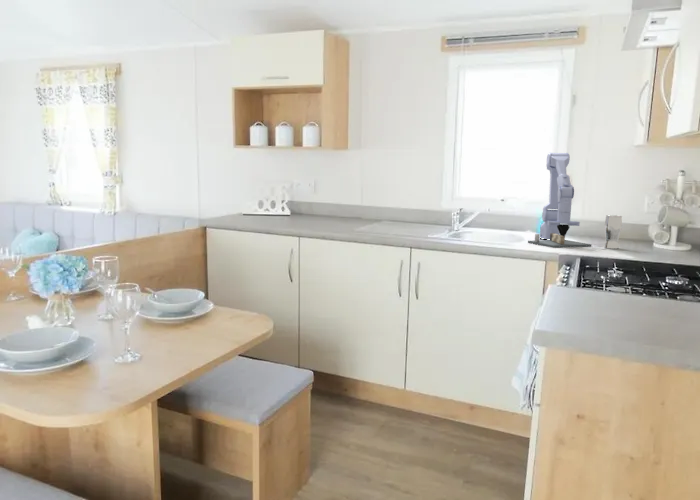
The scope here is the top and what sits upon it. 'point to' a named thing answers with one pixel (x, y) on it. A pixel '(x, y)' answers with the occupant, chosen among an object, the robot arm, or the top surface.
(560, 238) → the gate
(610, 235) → the beer glass
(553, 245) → the gate board
